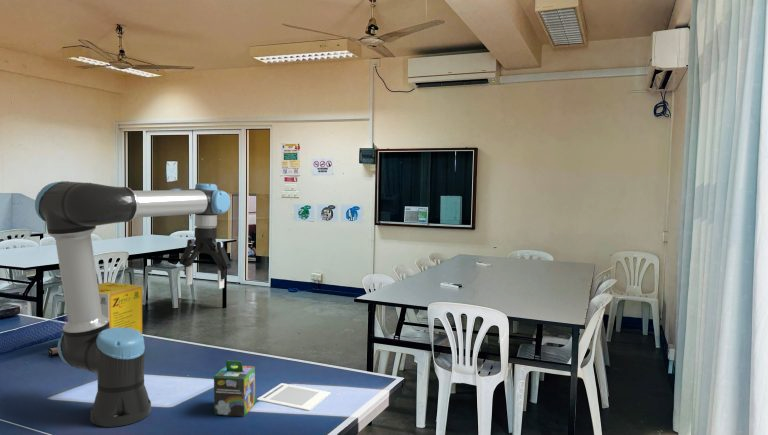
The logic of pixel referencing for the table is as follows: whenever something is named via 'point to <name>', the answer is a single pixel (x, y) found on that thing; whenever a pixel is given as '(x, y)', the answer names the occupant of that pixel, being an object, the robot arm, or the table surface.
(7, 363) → the table surface
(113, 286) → the packaging box
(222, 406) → the chalk box
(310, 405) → the white tray
